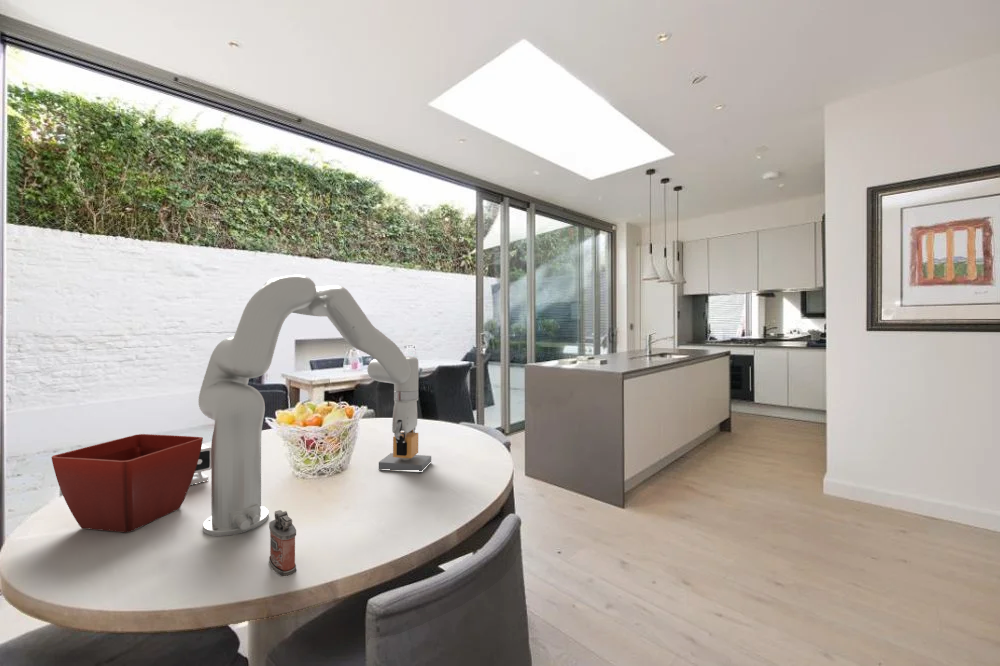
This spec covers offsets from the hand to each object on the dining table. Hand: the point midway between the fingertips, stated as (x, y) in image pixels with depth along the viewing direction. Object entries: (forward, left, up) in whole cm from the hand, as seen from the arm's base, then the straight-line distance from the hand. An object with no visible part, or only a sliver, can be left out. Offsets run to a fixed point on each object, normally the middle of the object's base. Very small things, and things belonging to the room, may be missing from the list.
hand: (405, 451), depth 131 cm
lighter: (-27, +48, -5) cm, 55 cm away
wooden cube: (0, 0, -1) cm, 1 cm away
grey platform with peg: (0, 0, -5) cm, 5 cm away
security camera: (+33, +48, -5) cm, 58 cm away
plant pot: (+18, +63, -5) cm, 66 cm away
